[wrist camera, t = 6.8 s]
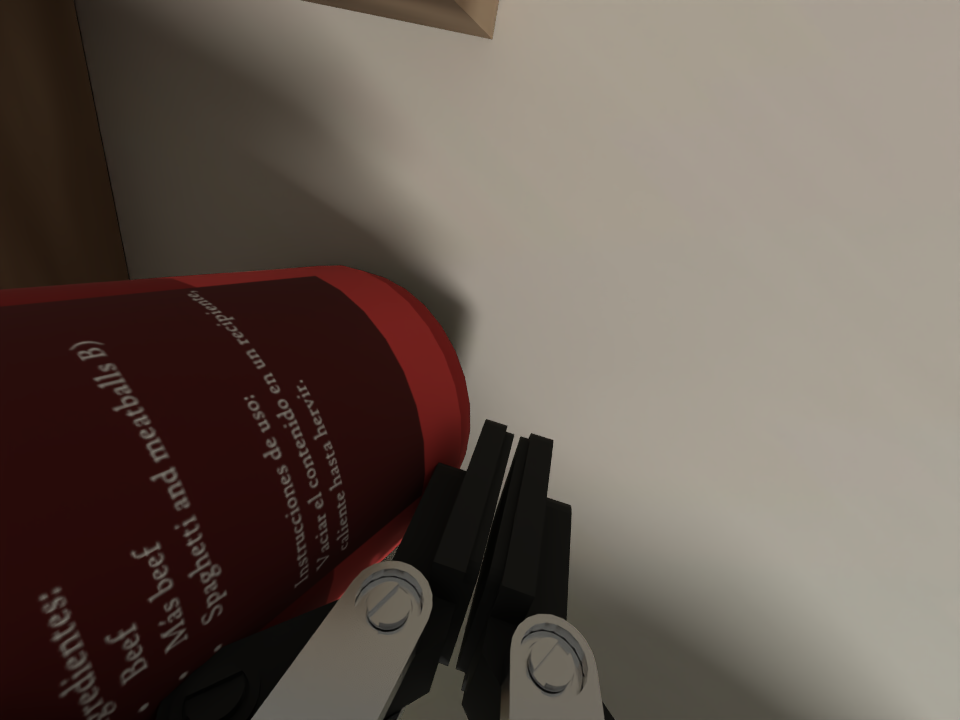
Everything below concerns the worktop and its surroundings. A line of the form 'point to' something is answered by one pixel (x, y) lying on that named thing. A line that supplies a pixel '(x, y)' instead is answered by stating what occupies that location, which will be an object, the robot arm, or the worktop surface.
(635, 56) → the worktop surface
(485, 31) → the wooden corner frame
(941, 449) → the worktop surface
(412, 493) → the canned food
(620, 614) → the worktop surface
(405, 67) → the worktop surface
